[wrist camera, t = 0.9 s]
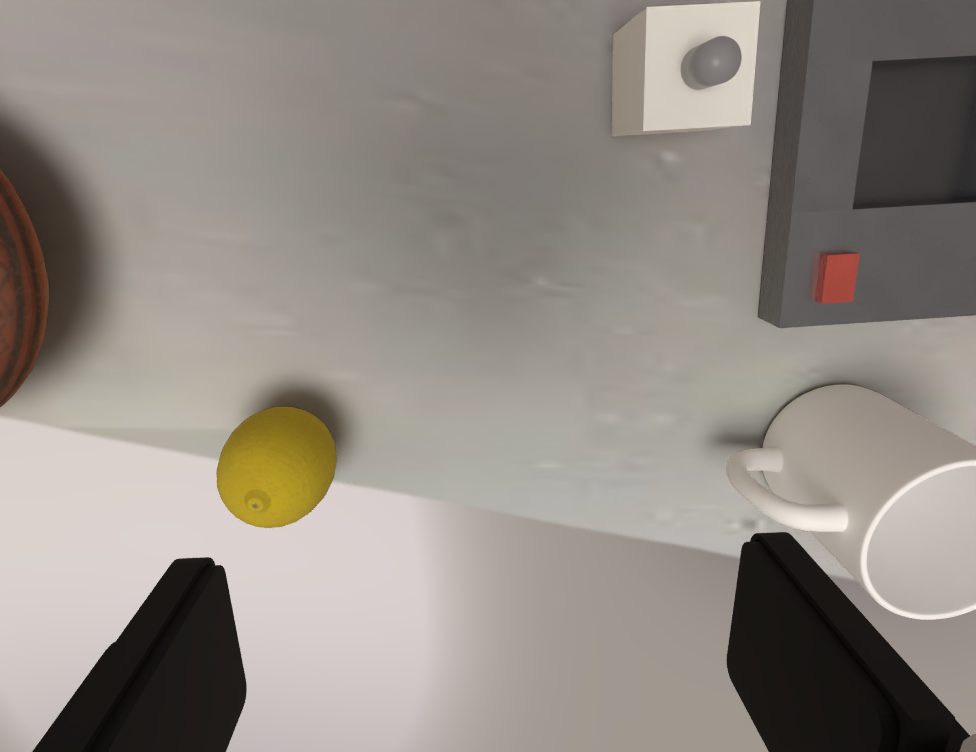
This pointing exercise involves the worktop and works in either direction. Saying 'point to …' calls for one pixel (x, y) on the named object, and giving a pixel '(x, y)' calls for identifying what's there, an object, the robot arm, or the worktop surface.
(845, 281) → the socket
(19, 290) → the bowl
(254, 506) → the lemon
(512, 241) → the worktop surface
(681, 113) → the plug
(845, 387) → the cup
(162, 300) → the worktop surface
